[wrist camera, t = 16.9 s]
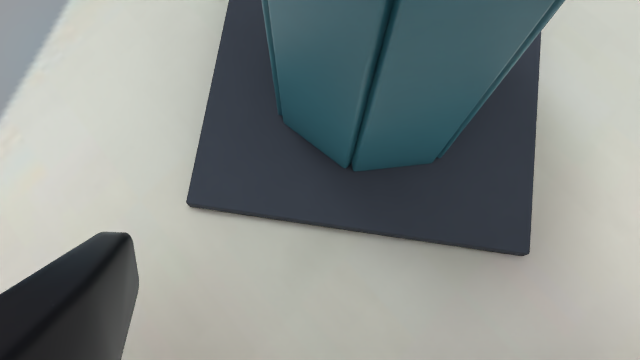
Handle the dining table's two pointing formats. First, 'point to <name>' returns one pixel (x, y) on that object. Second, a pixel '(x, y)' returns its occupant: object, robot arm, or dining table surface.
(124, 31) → the dining table surface
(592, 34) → the dining table surface
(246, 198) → the mat
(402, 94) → the tube
